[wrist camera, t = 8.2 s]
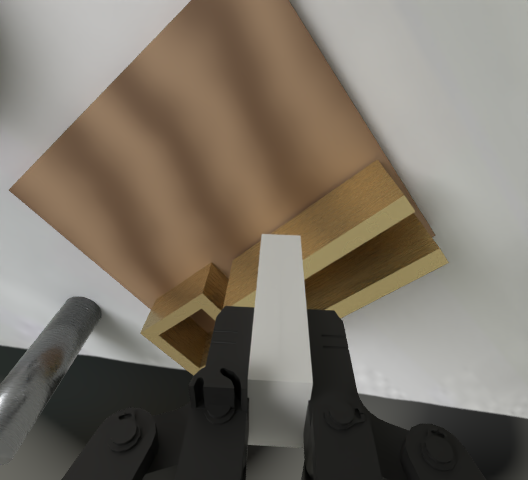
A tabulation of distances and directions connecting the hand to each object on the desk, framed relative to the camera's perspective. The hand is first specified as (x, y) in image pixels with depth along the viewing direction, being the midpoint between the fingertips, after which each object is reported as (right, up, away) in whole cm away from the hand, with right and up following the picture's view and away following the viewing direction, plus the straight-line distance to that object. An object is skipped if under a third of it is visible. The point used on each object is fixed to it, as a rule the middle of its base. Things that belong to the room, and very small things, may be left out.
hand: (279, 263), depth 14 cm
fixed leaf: (0, -1, +14) cm, 14 cm away
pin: (-18, -6, +19) cm, 27 cm away
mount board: (-4, +4, +13) cm, 14 cm away
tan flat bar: (+2, +2, +12) cm, 12 cm away
